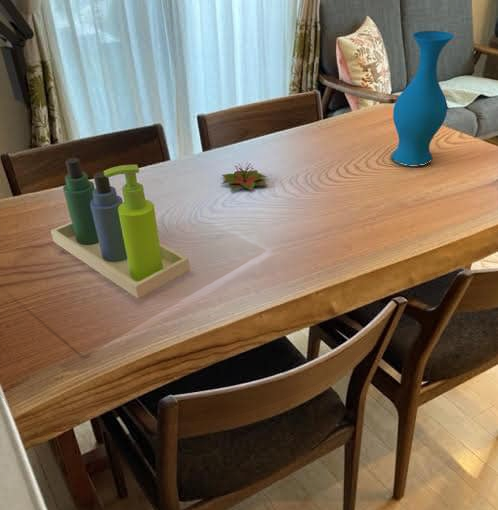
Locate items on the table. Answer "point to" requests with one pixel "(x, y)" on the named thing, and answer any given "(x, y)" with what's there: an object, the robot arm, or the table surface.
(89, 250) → the tray
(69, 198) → the green bottle
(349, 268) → the table surface
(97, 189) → the smoky-blue bottle
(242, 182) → the lily flower
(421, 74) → the vase
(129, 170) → the soap dispenser
